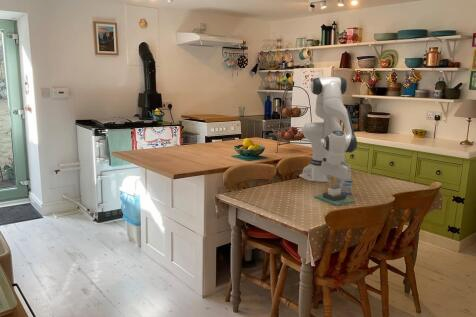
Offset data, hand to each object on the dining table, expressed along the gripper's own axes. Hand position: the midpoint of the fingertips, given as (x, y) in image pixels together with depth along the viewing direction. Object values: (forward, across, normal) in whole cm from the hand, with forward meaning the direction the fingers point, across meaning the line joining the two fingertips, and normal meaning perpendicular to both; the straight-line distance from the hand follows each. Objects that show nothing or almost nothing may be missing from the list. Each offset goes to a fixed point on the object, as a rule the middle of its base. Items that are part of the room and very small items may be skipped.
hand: (334, 184), depth 220 cm
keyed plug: (+8, 0, 0) cm, 8 cm away
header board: (+9, 0, 0) cm, 9 cm away
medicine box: (+10, +6, -14) cm, 17 cm away
